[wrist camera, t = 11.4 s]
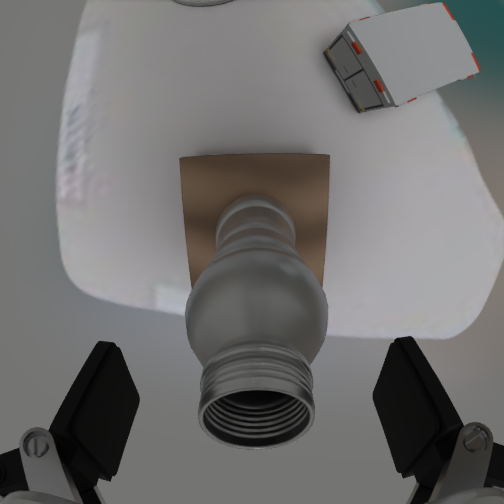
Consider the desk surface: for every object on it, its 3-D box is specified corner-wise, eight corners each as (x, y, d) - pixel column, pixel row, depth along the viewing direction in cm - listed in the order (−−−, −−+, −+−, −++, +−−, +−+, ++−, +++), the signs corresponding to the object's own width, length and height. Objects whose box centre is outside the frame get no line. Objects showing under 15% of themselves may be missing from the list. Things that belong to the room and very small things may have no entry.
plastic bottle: (210, 247, 27) (143, 443, 9) (232, 178, 25) (167, 309, 6) (275, 268, 28) (302, 472, 9) (302, 202, 25) (405, 367, 7)
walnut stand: (193, 154, 30) (179, 158, 24) (315, 152, 29) (329, 155, 24) (201, 266, 34) (192, 291, 29) (311, 264, 34) (322, 289, 29)
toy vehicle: (458, 78, 25) (509, 71, 15) (358, 122, 28) (399, 118, 19) (423, 14, 22) (467, -10, 12) (314, 48, 25) (339, 15, 16)
